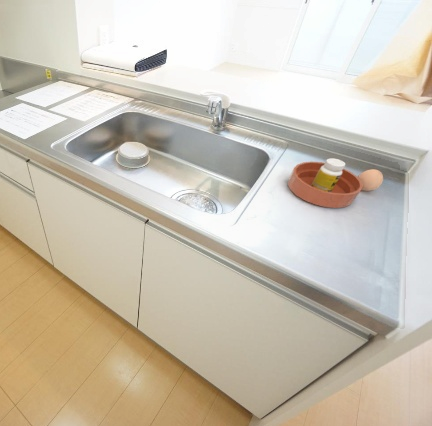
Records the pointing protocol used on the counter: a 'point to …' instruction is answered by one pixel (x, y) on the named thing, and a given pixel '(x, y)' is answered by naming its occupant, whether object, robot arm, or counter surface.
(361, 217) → the counter surface
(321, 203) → the bowl
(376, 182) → the egg
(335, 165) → the supplement bottle
